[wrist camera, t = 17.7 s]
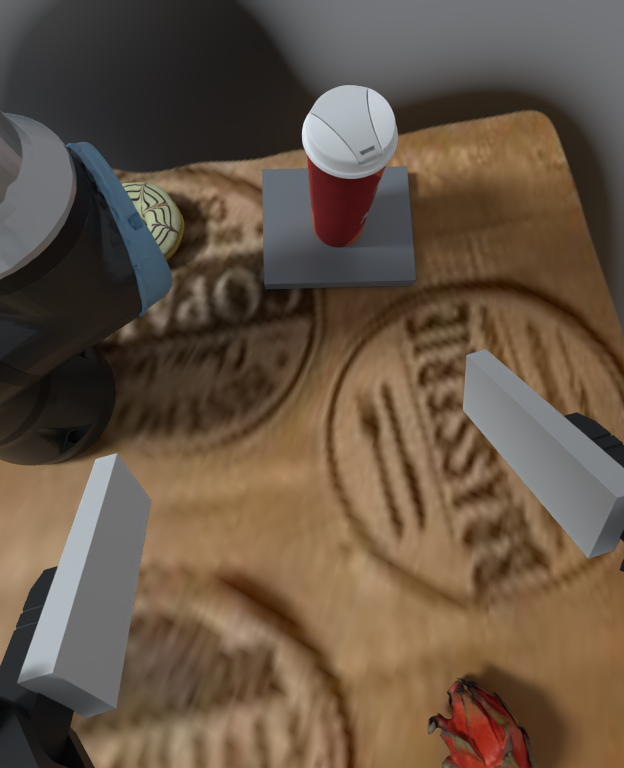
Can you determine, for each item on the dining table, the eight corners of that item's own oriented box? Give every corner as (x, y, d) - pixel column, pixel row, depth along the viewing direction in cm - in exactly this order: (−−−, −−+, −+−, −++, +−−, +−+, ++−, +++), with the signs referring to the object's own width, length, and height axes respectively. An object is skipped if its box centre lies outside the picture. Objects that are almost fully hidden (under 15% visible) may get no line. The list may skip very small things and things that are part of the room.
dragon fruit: (471, 784, 40) (436, 653, 43) (563, 803, 35) (516, 655, 39) (446, 854, 33) (407, 692, 37) (555, 889, 29) (499, 701, 32)
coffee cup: (383, 239, 46) (419, 142, 31) (322, 267, 45) (329, 182, 31) (351, 182, 47) (372, 63, 32) (291, 209, 47) (284, 99, 32)
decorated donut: (86, 224, 48) (67, 205, 44) (162, 183, 49) (150, 161, 45) (125, 291, 46) (109, 277, 43) (202, 248, 47) (193, 231, 44)
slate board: (265, 289, 46) (264, 284, 45) (263, 178, 49) (262, 169, 47) (412, 285, 47) (416, 280, 45) (404, 174, 49) (407, 166, 48)
